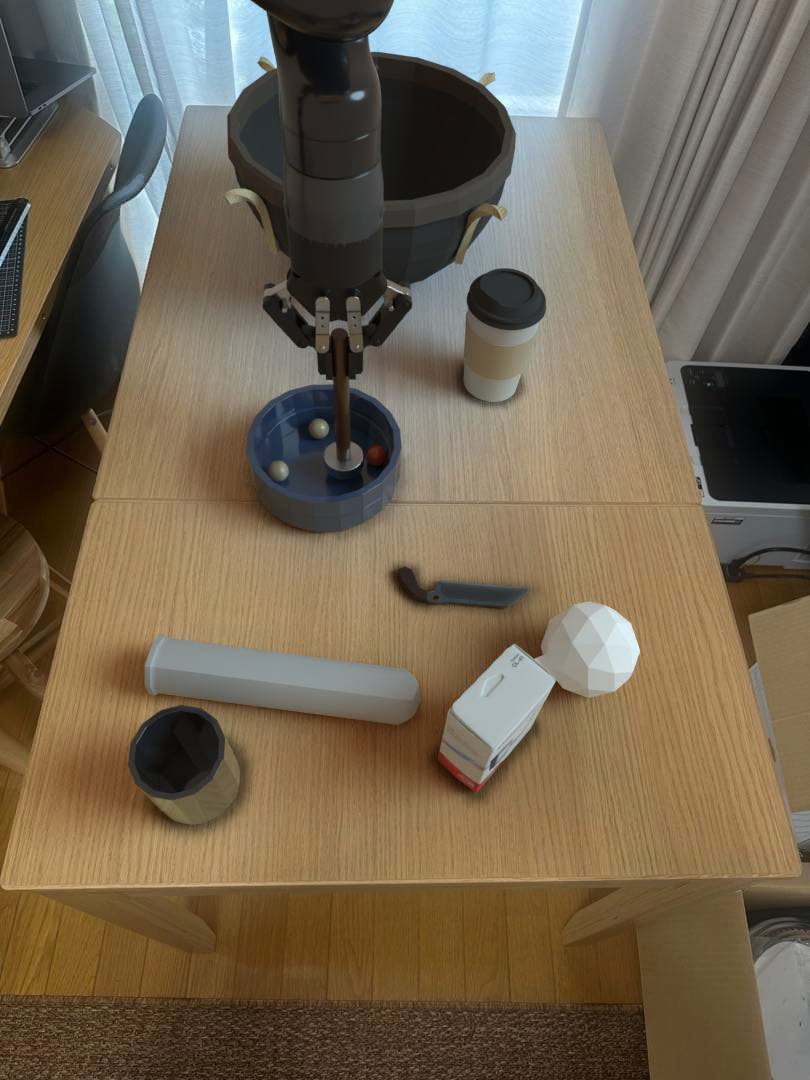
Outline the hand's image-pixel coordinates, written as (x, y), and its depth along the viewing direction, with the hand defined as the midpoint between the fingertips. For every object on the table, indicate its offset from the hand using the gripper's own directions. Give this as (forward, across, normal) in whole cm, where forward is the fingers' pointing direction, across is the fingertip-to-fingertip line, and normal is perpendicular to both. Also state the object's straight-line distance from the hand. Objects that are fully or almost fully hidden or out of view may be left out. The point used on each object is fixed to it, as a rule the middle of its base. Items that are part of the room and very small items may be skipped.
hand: (340, 373), depth 71 cm
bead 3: (+14, -4, -1) cm, 15 cm away
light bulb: (+16, -21, +25) cm, 36 cm away
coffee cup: (+16, -19, -14) cm, 29 cm away
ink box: (+16, -12, +32) cm, 38 cm away
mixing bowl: (+16, +2, 0) cm, 16 cm away
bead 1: (+14, +7, 0) cm, 16 cm away
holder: (+16, +14, +34) cm, 40 cm away
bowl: (+16, -5, -38) cm, 42 cm away
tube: (+16, +6, +26) cm, 31 cm away
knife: (+16, -12, +16) cm, 26 cm away
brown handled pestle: (+14, 0, 0) cm, 14 cm away
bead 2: (+14, +3, -6) cm, 16 cm away
